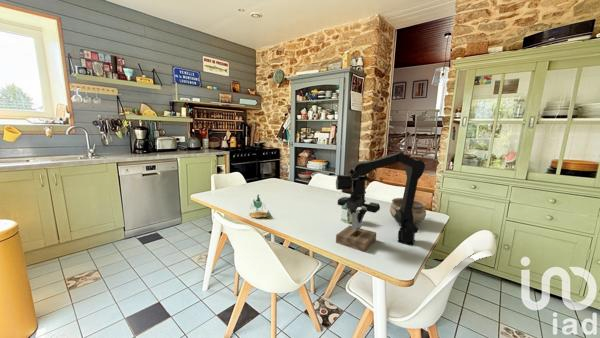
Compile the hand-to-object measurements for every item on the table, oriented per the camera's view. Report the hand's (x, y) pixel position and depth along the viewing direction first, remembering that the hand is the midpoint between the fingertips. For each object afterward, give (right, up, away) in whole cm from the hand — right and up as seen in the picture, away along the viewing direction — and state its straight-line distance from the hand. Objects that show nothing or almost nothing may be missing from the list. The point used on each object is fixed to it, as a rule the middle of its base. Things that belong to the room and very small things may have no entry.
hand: (357, 221), depth 113 cm
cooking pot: (+34, -6, +25) cm, 43 cm away
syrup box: (+1, -6, +27) cm, 28 cm away
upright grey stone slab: (0, -3, 0) cm, 3 cm away
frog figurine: (-52, -4, +34) cm, 62 cm away
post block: (0, -10, +2) cm, 10 cm away
